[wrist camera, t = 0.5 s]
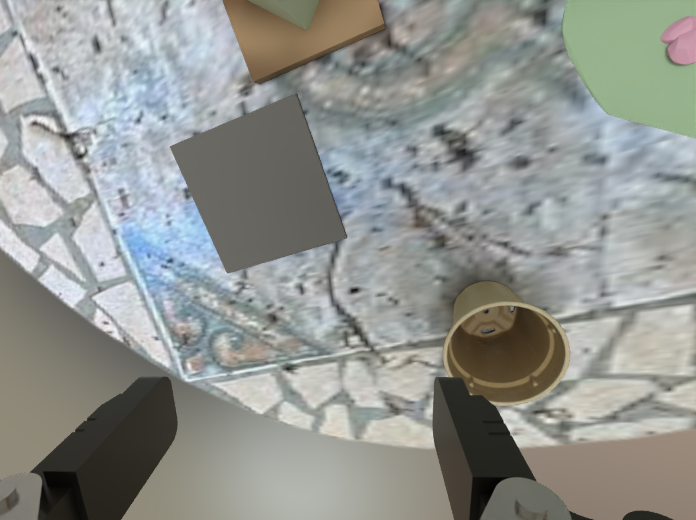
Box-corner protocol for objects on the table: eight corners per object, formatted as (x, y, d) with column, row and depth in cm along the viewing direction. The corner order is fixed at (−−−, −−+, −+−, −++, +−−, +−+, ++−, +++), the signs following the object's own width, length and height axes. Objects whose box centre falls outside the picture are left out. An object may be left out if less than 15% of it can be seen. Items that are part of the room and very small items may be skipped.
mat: (172, 146, 37) (169, 146, 36) (297, 94, 33) (295, 93, 33) (228, 272, 40) (227, 273, 40) (347, 237, 37) (346, 238, 36)
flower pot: (418, 295, 38) (419, 339, 30) (503, 245, 35) (530, 279, 26) (467, 363, 39) (482, 422, 31) (553, 321, 36) (593, 375, 28)
